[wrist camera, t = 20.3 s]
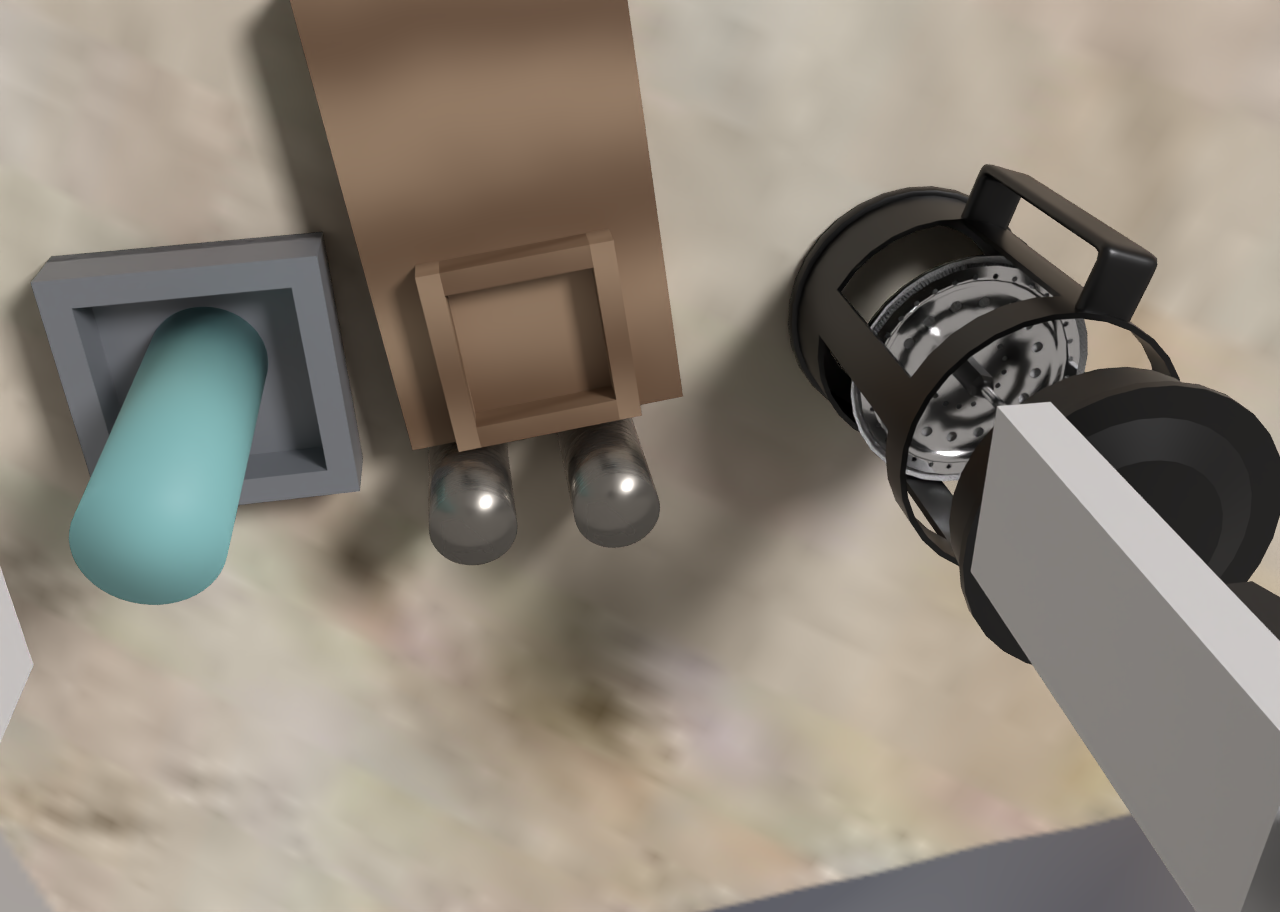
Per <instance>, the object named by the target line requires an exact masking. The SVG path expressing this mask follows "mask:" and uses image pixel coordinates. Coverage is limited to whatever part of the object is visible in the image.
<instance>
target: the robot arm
mask: <svg viewBox="0 0 1280 912" xmlns="http://www.w3.org/2000/svg"><path fill="white" fill-rule="evenodd" d="M971 573H972V574H973V576H974V577H975V579H976V580H977V582H978V583H979V585H980V586H981V588H982V589H983V591H984V592H985V594H986V595H987V597H988V598H989V600H990V602H991V603H992V605H993V606H994V608H995V609H996V611H997V612H998V614H999V615H1000V617H1001V618H1002V620H1003V621H1004V623H1005V624H1006V626H1007V627H1008V629H1009V630H1010V632H1011V633H1012V635H1013V636H1014V638H1015V639H1016V641H1017V642H1018V644H1019V645H1020V647H1021V648H1022V650H1023V651H1024V653H1025V654H1026V656H1027V657H1028V659H1029V660H1030V662H1031V663H1032V665H1033V666H1034V668H1035V669H1036V671H1037V672H1038V674H1039V675H1040V677H1041V678H1042V680H1043V681H1044V683H1045V685H1046V686H1047V688H1048V689H1049V691H1050V692H1051V694H1052V695H1053V697H1054V698H1055V700H1056V701H1057V703H1058V704H1059V706H1060V707H1061V709H1062V710H1063V712H1064V713H1065V715H1066V716H1067V718H1068V719H1069V721H1070V722H1071V724H1072V725H1073V727H1074V728H1075V730H1076V731H1077V733H1078V734H1079V736H1080V737H1081V739H1082V740H1083V742H1084V743H1085V745H1086V746H1087V748H1088V749H1089V751H1090V752H1091V754H1092V755H1093V757H1094V758H1095V760H1096V761H1097V763H1098V764H1099V766H1100V767H1101V769H1102V771H1103V772H1104V774H1105V775H1106V777H1107V778H1108V780H1109V781H1110V783H1111V784H1112V786H1113V787H1114V789H1115V790H1116V792H1117V793H1118V795H1119V796H1120V798H1121V799H1122V801H1123V802H1124V804H1125V805H1126V807H1127V808H1128V810H1129V811H1130V813H1131V814H1132V816H1133V817H1134V819H1135V820H1136V822H1137V823H1138V825H1139V826H1140V828H1141V829H1142V830H1143V832H1144V834H1145V835H1146V837H1147V838H1148V840H1149V841H1150V843H1151V844H1152V846H1153V847H1154V849H1155V850H1156V852H1157V853H1158V855H1159V856H1160V858H1161V859H1162V861H1163V862H1164V864H1165V865H1166V867H1167V869H1168V870H1169V872H1170V873H1171V875H1172V876H1173V877H1174V879H1175V881H1176V882H1177V884H1178V885H1179V886H1180V888H1181V890H1182V891H1183V893H1184V894H1185V896H1186V897H1187V899H1188V900H1189V902H1190V903H1191V905H1192V906H1193V908H1194V909H1195V911H1196V912H1280V597H1279V596H1277V595H1275V594H1273V593H1272V592H1270V591H1268V590H1266V589H1265V588H1263V587H1261V586H1259V585H1258V584H1256V583H1254V582H1253V581H1250V582H1241V583H1231V584H1225V583H1224V582H1223V581H1222V580H1221V579H1220V578H1219V577H1218V576H1217V575H1216V574H1215V573H1214V572H1213V571H1212V570H1211V569H1210V568H1209V567H1208V566H1207V565H1206V564H1205V563H1204V562H1203V561H1202V559H1201V558H1200V557H1199V556H1198V555H1197V554H1196V553H1195V552H1194V551H1193V550H1192V549H1191V548H1190V547H1189V546H1188V545H1187V544H1186V543H1185V542H1184V541H1183V540H1182V539H1181V538H1180V537H1179V535H1178V534H1177V533H1176V532H1175V531H1174V530H1173V529H1172V528H1171V527H1170V526H1169V525H1168V524H1167V523H1166V522H1165V521H1164V520H1163V519H1162V518H1161V517H1160V516H1159V515H1158V514H1157V512H1156V511H1155V510H1154V509H1153V508H1152V507H1151V506H1150V505H1149V504H1148V503H1147V502H1146V501H1145V500H1144V499H1143V498H1142V497H1141V496H1140V495H1139V494H1138V493H1137V492H1136V491H1135V490H1134V488H1133V487H1132V486H1131V485H1130V484H1129V483H1128V482H1127V481H1126V480H1125V479H1124V478H1123V477H1122V476H1121V475H1120V474H1119V473H1118V472H1117V471H1116V470H1115V469H1114V468H1113V467H1112V466H1111V464H1110V463H1109V462H1108V461H1107V460H1106V459H1105V458H1104V457H1103V456H1102V455H1101V454H1100V453H1099V452H1098V451H1097V450H1096V449H1095V448H1094V447H1093V446H1092V445H1091V444H1090V443H1089V442H1088V440H1087V439H1086V438H1085V437H1084V436H1083V435H1082V434H1081V433H1080V432H1079V431H1078V430H1077V429H1076V428H1075V427H1074V426H1073V425H1072V424H1071V423H1070V422H1069V421H1068V420H1067V419H1066V418H1065V416H1064V415H1063V414H1062V413H1061V412H1060V411H1059V410H1058V409H1057V408H1056V407H1055V406H1054V405H1053V404H1052V403H1051V402H1043V403H1030V404H1018V405H1006V406H997V410H996V417H995V423H994V429H993V435H992V442H991V448H990V454H989V460H988V466H987V473H986V479H985V485H984V491H983V498H982V504H981V510H980V516H979V523H978V529H977V535H976V541H975V547H974V554H973V560H972V566H971ZM32 668H33V662H32V659H31V656H30V653H29V650H28V647H27V644H26V641H25V638H24V635H23V632H22V629H21V626H20V623H19V620H18V617H17V614H16V611H15V608H14V605H13V602H12V599H11V596H10V594H9V591H8V588H7V585H6V582H5V579H4V576H3V573H2V570H1V567H0V742H1V740H2V737H3V735H4V733H5V730H6V728H7V726H8V723H9V721H10V719H11V716H12V714H13V712H14V709H15V707H16V705H17V702H18V700H19V698H20V695H21V693H22V691H23V689H24V686H25V684H26V682H27V679H28V677H29V675H30V672H31V670H32Z"/></svg>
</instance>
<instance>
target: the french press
mask: <svg viewBox="0 0 1280 912" xmlns="http://www.w3.org/2000/svg"><path fill="white" fill-rule="evenodd" d="M1021 197H1022V198H1023V199H1024V200H1026V201H1027V202H1029V203H1030V204H1032V205H1033V206H1035V207H1036V208H1038V209H1039V210H1041V211H1042V212H1044V213H1045V214H1047V215H1048V216H1050V217H1051V218H1052V219H1054V220H1055V221H1057V222H1058V223H1060V224H1061V225H1063V226H1064V227H1066V228H1067V229H1069V230H1070V231H1072V232H1073V233H1075V234H1076V235H1077V236H1079V237H1080V238H1082V239H1083V240H1085V241H1086V242H1088V243H1089V244H1091V245H1092V246H1094V247H1095V248H1096V249H1097V251H1098V257H1097V261H1096V263H1095V265H1094V267H1093V269H1092V271H1091V273H1090V275H1089V277H1088V279H1087V281H1086V284H1085V286H1084V287H1082V286H1081V285H1080V284H1078V283H1077V282H1076V281H1074V280H1073V279H1072V278H1070V277H1069V276H1068V275H1066V274H1065V273H1064V272H1062V271H1061V270H1060V269H1058V268H1057V267H1056V266H1054V265H1053V264H1052V263H1050V262H1049V261H1048V260H1046V259H1045V258H1044V257H1042V256H1041V255H1040V254H1038V253H1037V252H1036V251H1034V250H1033V249H1032V248H1030V247H1029V246H1028V245H1027V244H1026V243H1025V242H1024V241H1022V240H1021V239H1020V238H1018V237H1017V236H1016V235H1014V234H1013V233H1012V232H1011V230H1010V228H1009V227H1008V225H1009V223H1010V221H1011V219H1012V216H1013V214H1014V212H1015V210H1016V207H1017V205H1018V203H1019V200H1020V198H1021ZM935 226H945V227H949V228H951V229H954V230H956V231H959V232H962V233H963V234H965V235H966V236H968V237H969V238H970V239H972V240H973V241H974V242H975V243H976V244H977V246H978V247H979V248H980V249H981V250H982V252H983V254H984V255H978V256H970V257H965V258H961V259H958V260H954V261H951V262H947V263H944V264H942V265H940V266H937V267H935V268H933V269H931V270H928V271H926V272H924V273H922V274H921V275H919V276H918V277H916V278H915V279H913V280H912V281H910V282H909V283H907V284H906V285H904V286H903V287H902V288H900V289H899V290H898V291H897V292H896V293H895V294H894V295H893V296H891V297H890V298H889V299H888V300H887V301H886V302H885V303H884V304H883V305H882V306H881V308H880V309H879V310H878V311H877V312H876V314H875V315H874V316H873V317H872V319H871V320H870V322H869V323H868V324H867V323H866V322H865V320H864V319H863V318H862V317H861V316H860V314H859V313H858V312H857V311H856V310H855V308H854V307H853V306H852V305H851V304H850V302H849V301H848V300H847V299H846V298H845V296H844V295H843V294H842V293H841V291H842V290H843V288H844V287H845V286H846V284H847V283H848V282H849V280H850V279H851V278H852V276H853V275H854V274H855V272H856V271H857V270H858V269H859V268H860V267H862V266H863V265H864V264H865V263H866V262H867V261H868V260H869V259H870V258H871V257H872V256H873V255H874V254H876V253H877V252H879V251H880V250H882V249H883V248H885V247H886V246H888V245H889V244H891V243H892V242H894V241H895V240H898V239H900V238H902V237H904V236H907V235H909V234H911V233H913V232H916V231H919V230H923V229H927V228H931V227H935ZM1156 267H1157V258H1156V257H1155V256H1154V255H1153V254H1151V253H1150V252H1149V251H1147V250H1146V249H1144V248H1142V247H1141V246H1139V245H1138V244H1136V243H1135V242H1133V241H1131V240H1130V239H1128V238H1127V237H1125V236H1124V235H1122V234H1120V233H1119V232H1117V231H1116V230H1114V229H1113V228H1111V227H1109V226H1108V225H1106V224H1105V223H1103V222H1102V221H1100V220H1098V219H1097V218H1095V217H1094V216H1092V215H1090V214H1089V213H1087V212H1086V211H1084V210H1083V209H1081V208H1079V207H1078V206H1076V205H1075V204H1073V203H1072V202H1070V201H1068V200H1067V199H1065V198H1064V197H1062V196H1061V195H1059V194H1057V193H1056V192H1054V191H1053V190H1051V189H1050V188H1048V187H1046V186H1045V185H1043V184H1042V183H1040V182H1038V181H1037V180H1035V179H1034V178H1032V177H1031V176H1029V175H1026V174H1023V173H1019V172H1016V171H1012V170H1009V169H1005V168H1002V167H998V166H995V165H988V164H985V165H984V166H983V167H982V168H981V170H980V172H979V174H978V177H977V179H976V181H975V184H974V186H973V188H972V191H971V193H970V196H968V195H966V194H963V193H961V192H959V191H956V190H951V189H945V188H939V187H933V186H930V187H909V188H904V189H900V190H895V191H891V192H887V193H883V194H881V195H879V196H877V197H874V198H872V199H870V200H868V201H866V202H863V203H861V204H859V205H858V206H856V207H855V208H854V209H852V210H851V211H849V212H848V213H846V214H845V215H843V216H842V217H840V218H839V219H838V220H837V221H836V222H835V223H834V224H833V225H832V226H831V227H830V228H829V229H828V230H827V231H826V232H825V233H824V234H823V235H822V236H821V237H820V238H819V240H818V241H817V242H816V244H815V245H814V247H813V248H812V249H811V251H810V252H809V253H808V255H807V256H806V258H805V260H804V262H803V265H802V267H801V269H800V271H799V273H798V275H797V277H796V280H795V284H794V287H793V291H792V295H791V299H790V305H789V321H788V326H789V333H790V340H791V346H792V349H793V351H794V354H795V357H796V359H797V362H798V365H799V366H800V368H801V370H802V371H803V372H804V374H805V375H806V377H807V378H808V380H809V381H810V383H811V384H812V386H813V387H815V388H816V389H817V390H818V391H819V392H820V393H821V394H822V395H823V396H824V397H825V398H826V399H828V400H829V401H830V402H831V404H832V405H833V407H834V408H835V410H836V411H837V413H838V414H839V416H841V417H842V418H843V419H844V420H845V421H846V422H847V423H848V424H849V425H850V426H851V427H852V428H853V429H855V430H857V431H859V432H860V434H861V435H862V437H863V438H864V440H865V441H866V443H867V444H868V446H869V447H870V449H871V450H872V451H873V452H874V453H875V454H876V455H878V456H879V457H880V458H881V459H882V460H883V461H884V462H885V463H886V466H887V475H888V480H889V483H890V486H891V489H892V491H893V494H894V497H895V500H896V502H897V503H898V505H899V506H900V508H901V509H902V511H903V512H904V514H905V515H906V517H907V518H908V520H909V521H910V523H911V524H912V526H913V527H914V528H915V530H916V531H917V533H918V534H919V536H920V537H921V539H922V540H923V541H924V542H925V543H926V544H927V545H928V546H929V547H930V548H931V549H933V550H934V551H935V552H936V553H937V554H938V555H939V556H941V557H943V558H945V559H947V560H949V561H950V562H952V563H954V564H956V565H958V566H959V569H960V582H961V588H962V591H963V594H964V597H965V600H966V603H967V606H968V609H969V611H970V613H971V614H972V616H973V617H974V619H975V620H976V622H977V623H978V624H979V626H980V627H981V629H982V630H983V632H984V633H985V635H986V636H987V637H988V638H989V639H990V640H991V641H993V642H994V643H995V644H996V645H997V646H998V647H999V648H1001V649H1002V650H1003V651H1004V652H1006V653H1008V654H1010V655H1012V656H1014V657H1016V658H1018V659H1019V660H1021V661H1023V662H1025V663H1028V664H1032V663H1031V662H1030V660H1029V659H1028V657H1027V656H1026V654H1025V653H1024V651H1023V650H1022V648H1021V647H1020V645H1019V644H1018V642H1017V641H1016V639H1015V638H1014V636H1013V635H1012V633H1011V632H1010V630H1009V629H1008V627H1007V626H1006V624H1005V623H1004V621H1003V620H1002V618H1001V617H1000V615H999V614H998V612H997V611H996V609H995V608H994V606H993V605H992V603H991V602H990V600H989V598H988V597H987V595H986V594H985V592H984V591H983V589H982V588H981V586H980V585H979V583H978V582H977V580H976V579H975V577H974V576H973V574H972V573H971V566H972V560H973V554H974V547H975V541H976V535H977V529H978V523H979V516H980V510H981V504H982V498H983V491H984V485H985V479H986V473H987V466H988V460H989V454H990V448H991V442H992V435H993V429H994V423H995V417H996V410H997V406H1006V405H1018V404H1030V403H1043V402H1051V403H1052V404H1053V405H1054V406H1055V407H1056V408H1057V409H1058V410H1059V411H1060V412H1061V413H1062V414H1063V415H1064V416H1065V418H1066V419H1067V420H1068V421H1069V422H1070V423H1071V424H1072V425H1073V426H1074V427H1075V428H1076V429H1077V430H1078V431H1079V432H1080V433H1081V434H1082V435H1083V436H1084V437H1085V438H1086V439H1087V440H1088V442H1089V443H1090V444H1091V445H1092V446H1093V447H1094V448H1095V449H1096V450H1097V451H1098V452H1099V453H1100V454H1101V455H1102V456H1103V457H1104V458H1105V459H1106V460H1107V461H1108V462H1109V463H1110V464H1111V466H1112V467H1113V468H1114V469H1115V470H1116V471H1117V472H1118V473H1119V474H1120V475H1121V476H1122V477H1123V478H1124V479H1125V480H1126V481H1127V482H1128V483H1129V484H1130V485H1131V486H1132V487H1133V488H1134V490H1135V491H1136V492H1137V493H1138V494H1139V495H1140V496H1141V497H1142V498H1143V499H1144V500H1145V501H1146V502H1147V503H1148V504H1149V505H1150V506H1151V507H1152V508H1153V509H1154V510H1155V511H1156V512H1157V514H1158V515H1159V516H1160V517H1161V518H1162V519H1163V520H1164V521H1165V522H1166V523H1167V524H1168V525H1169V526H1170V527H1171V528H1172V529H1173V530H1174V531H1175V532H1176V533H1177V534H1178V535H1179V537H1180V538H1181V539H1182V540H1183V541H1184V542H1185V543H1186V544H1187V545H1188V546H1189V547H1190V548H1191V549H1192V550H1193V551H1194V552H1195V553H1196V554H1197V555H1198V556H1199V557H1200V558H1201V559H1202V561H1203V562H1204V563H1205V564H1206V565H1207V566H1208V567H1209V568H1210V569H1211V570H1212V571H1213V572H1214V573H1215V574H1216V575H1217V576H1218V577H1219V578H1220V579H1221V580H1222V581H1223V582H1224V583H1225V584H1231V583H1241V582H1247V581H1248V580H1249V578H1250V577H1251V575H1252V574H1253V573H1254V571H1255V570H1256V569H1257V567H1258V566H1259V564H1260V563H1261V561H1262V559H1263V557H1264V555H1265V553H1266V551H1267V549H1268V547H1269V545H1270V543H1271V541H1272V539H1273V536H1274V533H1275V530H1276V526H1277V523H1278V520H1279V516H1280V456H1279V453H1278V451H1277V449H1276V447H1275V444H1274V442H1273V440H1272V437H1271V435H1270V433H1269V432H1268V431H1267V430H1266V428H1265V427H1264V426H1263V425H1262V424H1261V422H1260V421H1259V420H1258V419H1257V417H1256V416H1255V415H1254V414H1253V413H1252V412H1250V411H1249V410H1248V409H1246V408H1245V407H1243V406H1242V405H1240V404H1239V403H1238V402H1236V401H1235V400H1233V399H1232V398H1230V397H1229V396H1228V395H1226V394H1224V393H1221V392H1218V391H1215V390H1213V389H1210V388H1207V387H1205V386H1202V385H1199V384H1191V383H1183V382H1180V379H1179V377H1178V375H1177V372H1176V370H1175V368H1174V366H1173V364H1172V362H1171V360H1170V358H1169V356H1168V355H1167V354H1166V353H1165V352H1164V350H1163V349H1162V348H1161V347H1160V346H1159V345H1158V343H1157V342H1156V341H1155V340H1154V339H1153V338H1152V337H1150V336H1149V335H1148V334H1146V333H1145V332H1144V331H1142V330H1141V329H1140V328H1138V327H1137V326H1136V325H1134V324H1133V323H1132V322H1130V320H1131V318H1132V316H1133V314H1134V312H1135V310H1136V308H1137V306H1138V304H1139V302H1140V300H1141V298H1142V296H1143V294H1144V292H1145V290H1146V288H1147V286H1148V284H1149V282H1150V280H1151V278H1152V276H1153V274H1154V272H1155V270H1156ZM1084 319H1089V320H1096V321H1103V322H1108V323H1111V324H1114V325H1116V326H1119V327H1122V328H1124V329H1127V330H1129V331H1131V332H1132V333H1133V335H1134V336H1135V337H1136V338H1137V339H1138V341H1139V342H1140V343H1141V344H1142V346H1143V348H1144V350H1145V352H1146V354H1147V356H1148V359H1149V361H1150V363H1151V366H1152V370H1147V369H1139V368H1131V367H1120V368H1106V369H1097V370H1093V371H1090V372H1086V373H1085V372H1084V370H1085V365H1086V360H1087V355H1088V352H1087V330H1086V326H1085V321H1084ZM830 350H831V352H832V353H833V355H834V356H835V357H836V359H837V360H838V361H839V363H840V364H841V366H842V367H843V368H844V370H845V371H846V372H847V373H846V372H845V371H844V370H843V369H842V368H841V367H840V366H839V365H838V364H837V363H836V361H835V359H834V358H833V356H832V355H831V352H830ZM951 480H959V481H958V484H957V486H956V489H955V492H954V495H952V494H951V493H950V491H949V490H948V489H947V487H946V486H945V485H944V483H943V482H942V481H951ZM907 491H908V493H909V494H910V496H911V497H912V498H913V500H914V501H915V503H916V504H917V506H918V507H919V509H920V510H921V511H922V513H923V514H924V516H925V517H926V519H927V520H928V522H929V523H930V524H931V526H932V527H933V529H934V530H935V532H936V533H937V534H936V533H934V532H932V531H930V530H928V529H927V528H926V527H925V526H924V525H923V524H922V523H921V522H920V521H919V520H917V519H916V518H915V516H914V514H913V511H912V508H911V505H910V502H909V499H908V493H907Z"/></svg>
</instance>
